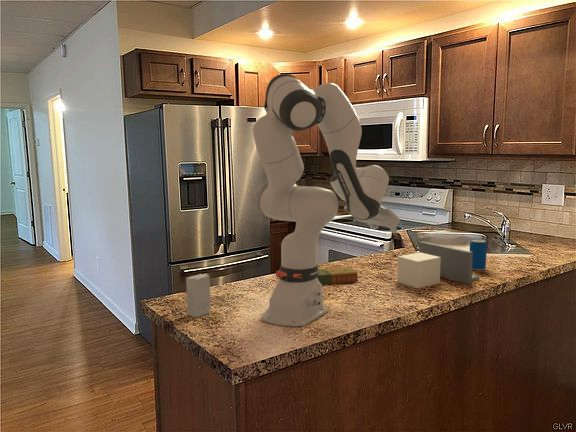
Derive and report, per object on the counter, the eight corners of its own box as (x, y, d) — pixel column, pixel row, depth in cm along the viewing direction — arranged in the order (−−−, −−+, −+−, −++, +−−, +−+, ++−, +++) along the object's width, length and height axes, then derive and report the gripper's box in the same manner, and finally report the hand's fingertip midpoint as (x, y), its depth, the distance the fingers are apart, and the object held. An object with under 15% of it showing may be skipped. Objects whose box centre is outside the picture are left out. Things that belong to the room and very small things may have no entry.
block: (416, 288, 167) (417, 261, 166) (397, 282, 176) (397, 256, 175) (439, 283, 174) (440, 257, 172) (419, 277, 182) (420, 252, 181)
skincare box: (202, 310, 148) (201, 273, 146) (211, 313, 145) (210, 275, 143) (186, 315, 143) (184, 277, 142) (195, 318, 140) (194, 279, 139)
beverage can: (485, 267, 194) (487, 239, 193) (485, 271, 188) (486, 242, 187) (469, 266, 197) (470, 238, 195) (468, 270, 191) (469, 241, 189)
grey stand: (467, 284, 171) (469, 252, 169) (418, 270, 192) (419, 241, 190) (483, 280, 176) (485, 249, 174) (433, 267, 196) (434, 239, 194)
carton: (357, 282, 177) (357, 271, 176) (316, 285, 174) (316, 274, 173) (350, 276, 185) (350, 266, 184) (311, 279, 182) (311, 269, 181)
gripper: (390, 200, 149) (412, 227, 155) (350, 194, 166) (371, 219, 172) (379, 215, 147) (401, 241, 153) (340, 208, 165) (362, 232, 171)
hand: (385, 229), depth 163 cm, fingers open, 8 cm apart
